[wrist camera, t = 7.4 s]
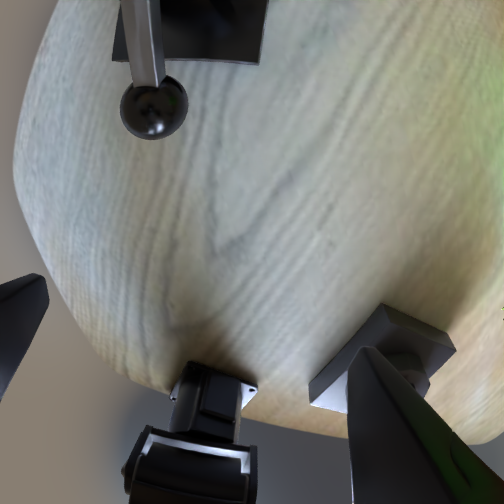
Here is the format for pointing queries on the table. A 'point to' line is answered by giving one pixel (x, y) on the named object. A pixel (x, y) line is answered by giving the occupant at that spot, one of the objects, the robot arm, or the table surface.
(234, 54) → the bracket
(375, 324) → the control block
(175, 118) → the lever
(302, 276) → the table surface
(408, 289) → the table surface
